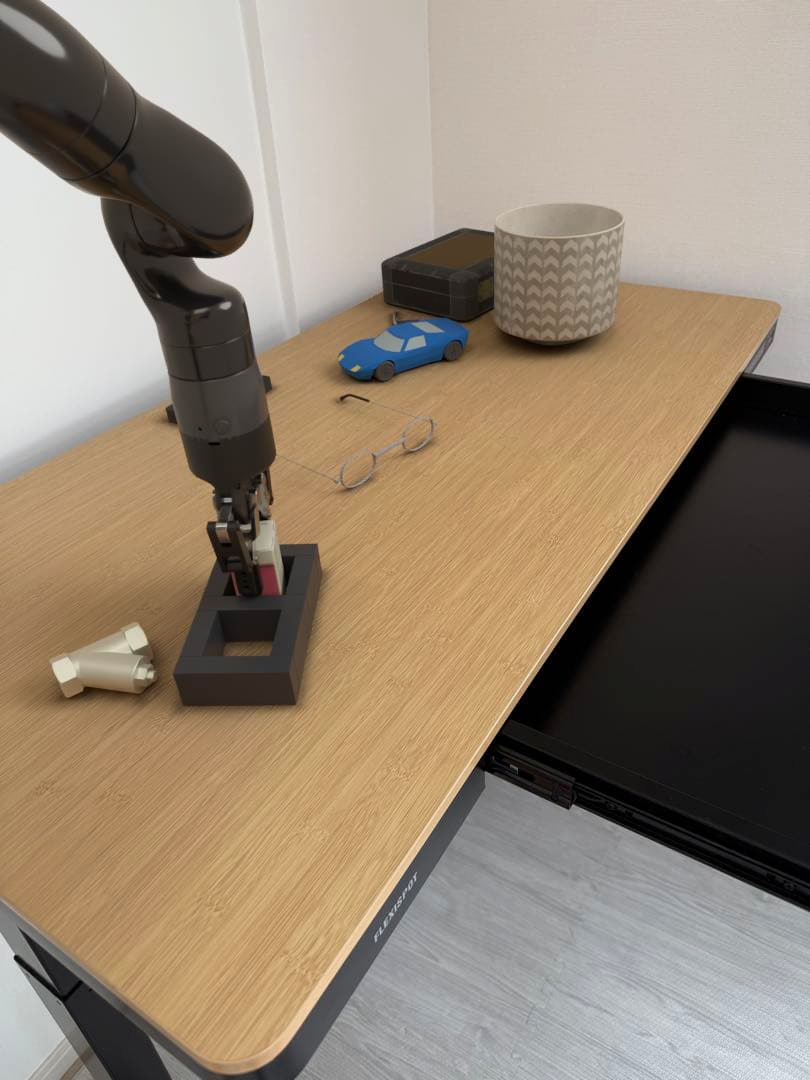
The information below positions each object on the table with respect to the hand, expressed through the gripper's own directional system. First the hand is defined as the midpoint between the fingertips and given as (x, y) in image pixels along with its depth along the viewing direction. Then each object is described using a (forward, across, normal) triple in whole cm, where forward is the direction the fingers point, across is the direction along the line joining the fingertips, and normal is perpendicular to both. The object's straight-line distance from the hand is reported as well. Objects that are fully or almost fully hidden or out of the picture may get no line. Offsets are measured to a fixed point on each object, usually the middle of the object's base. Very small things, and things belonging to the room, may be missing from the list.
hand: (257, 572), depth 76 cm
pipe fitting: (+5, +10, -12) cm, 16 cm away
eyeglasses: (+4, -32, +4) cm, 33 cm away
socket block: (+4, +4, 0) cm, 6 cm away
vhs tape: (+4, -45, -15) cm, 48 cm away
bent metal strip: (+4, -74, +10) cm, 75 cm away
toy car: (+4, -57, +11) cm, 59 cm away
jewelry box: (+4, -88, +21) cm, 90 cm away
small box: (+4, 0, 0) cm, 4 cm away
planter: (+4, -65, +35) cm, 74 cm away
